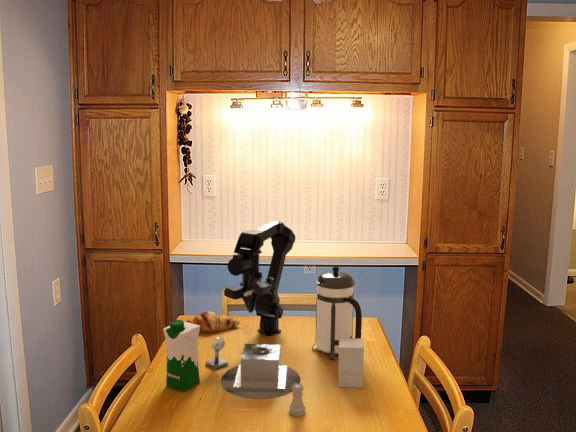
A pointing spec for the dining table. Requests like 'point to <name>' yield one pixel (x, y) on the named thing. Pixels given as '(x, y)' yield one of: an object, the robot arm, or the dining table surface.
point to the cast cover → (260, 369)
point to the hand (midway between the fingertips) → (250, 312)
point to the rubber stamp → (217, 354)
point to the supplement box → (350, 362)
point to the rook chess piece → (297, 401)
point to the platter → (229, 381)
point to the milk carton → (182, 355)
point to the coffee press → (335, 311)
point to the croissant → (213, 322)
